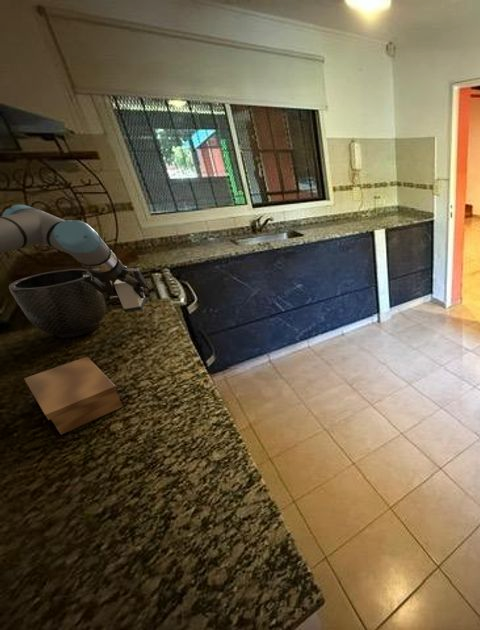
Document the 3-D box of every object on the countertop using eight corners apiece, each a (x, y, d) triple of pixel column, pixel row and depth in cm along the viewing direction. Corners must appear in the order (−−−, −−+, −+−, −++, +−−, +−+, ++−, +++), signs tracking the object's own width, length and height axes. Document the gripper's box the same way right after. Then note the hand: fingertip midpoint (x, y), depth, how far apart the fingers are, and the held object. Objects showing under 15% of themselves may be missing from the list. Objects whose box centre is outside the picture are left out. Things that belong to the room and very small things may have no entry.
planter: (117, 313, 130) (96, 265, 122) (113, 333, 116) (89, 280, 107) (46, 327, 120) (18, 275, 112) (31, 351, 105) (-2, 294, 97)
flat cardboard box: (58, 436, 74) (45, 414, 72) (35, 397, 86) (23, 378, 83) (125, 405, 83) (115, 385, 80) (96, 374, 95) (87, 356, 92)
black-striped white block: (141, 309, 115) (130, 281, 110) (124, 312, 113) (112, 284, 108) (146, 298, 123) (136, 272, 119) (130, 301, 121) (120, 274, 117)
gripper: (61, 278, 92) (101, 311, 112) (140, 269, 100) (165, 301, 120) (59, 254, 94) (99, 290, 114) (137, 247, 102) (162, 282, 122)
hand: (133, 296), depth 117 cm, fingers closed on black-striped white block, 4 cm apart
